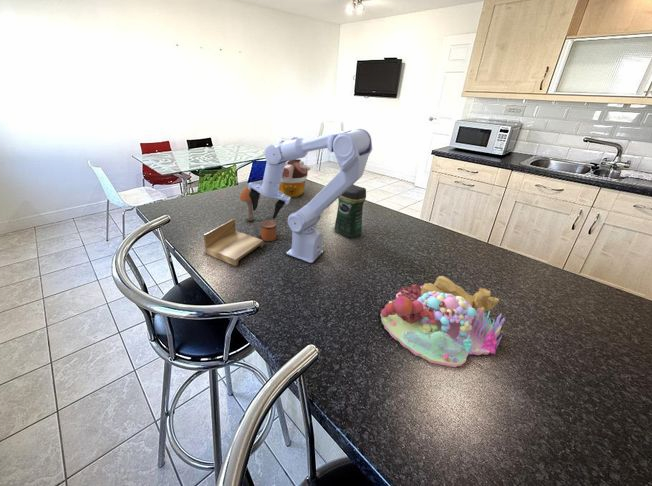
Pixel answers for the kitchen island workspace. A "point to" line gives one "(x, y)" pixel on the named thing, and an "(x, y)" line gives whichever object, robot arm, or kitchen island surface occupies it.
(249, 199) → the mushroom
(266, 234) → the pot
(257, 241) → the shelf
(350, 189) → the coffee jar
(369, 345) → the kitchen island surface
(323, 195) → the robot arm
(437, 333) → the candy landscape model
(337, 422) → the kitchen island surface
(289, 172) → the bucket of meat
